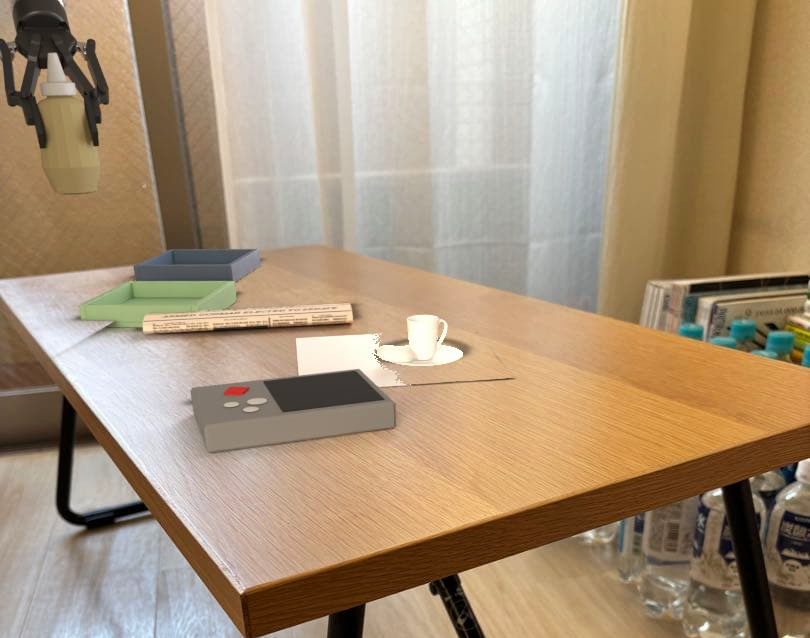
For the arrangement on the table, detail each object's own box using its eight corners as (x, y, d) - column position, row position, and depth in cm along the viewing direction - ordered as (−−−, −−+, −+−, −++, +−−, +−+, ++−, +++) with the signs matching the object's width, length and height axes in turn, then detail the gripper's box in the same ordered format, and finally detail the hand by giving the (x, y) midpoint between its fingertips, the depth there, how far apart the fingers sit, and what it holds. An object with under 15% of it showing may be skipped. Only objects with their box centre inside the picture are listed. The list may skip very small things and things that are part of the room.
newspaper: (144, 337, 100) (141, 320, 100) (151, 322, 107) (149, 307, 106) (353, 325, 103) (352, 310, 102) (348, 312, 109) (347, 297, 108)
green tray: (82, 327, 106) (78, 304, 105) (131, 300, 119) (127, 281, 118) (200, 327, 104) (197, 305, 103) (237, 301, 117) (234, 281, 116)
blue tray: (136, 284, 130) (133, 265, 128) (171, 266, 143) (169, 249, 141) (233, 284, 128) (231, 265, 127) (260, 265, 141) (259, 248, 140)
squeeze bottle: (113, 190, 134) (92, 53, 126) (91, 195, 127) (67, 51, 119) (61, 190, 135) (37, 54, 127) (37, 196, 127) (9, 52, 119)
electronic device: (189, 385, 75) (360, 365, 79) (193, 412, 76) (361, 392, 80) (203, 423, 66) (396, 399, 70) (208, 454, 68) (397, 429, 71)
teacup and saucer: (380, 373, 86) (378, 330, 84) (372, 351, 93) (370, 312, 91) (470, 367, 87) (470, 325, 85) (455, 347, 94) (455, 307, 92)
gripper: (108, 36, 137) (140, 156, 131) (-29, 35, 131) (-2, 162, 125) (107, -8, 131) (140, 117, 124) (-38, -11, 124) (-11, 121, 118)
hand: (69, 139), depth 124 cm, fingers closed on squeeze bottle, 6 cm apart
